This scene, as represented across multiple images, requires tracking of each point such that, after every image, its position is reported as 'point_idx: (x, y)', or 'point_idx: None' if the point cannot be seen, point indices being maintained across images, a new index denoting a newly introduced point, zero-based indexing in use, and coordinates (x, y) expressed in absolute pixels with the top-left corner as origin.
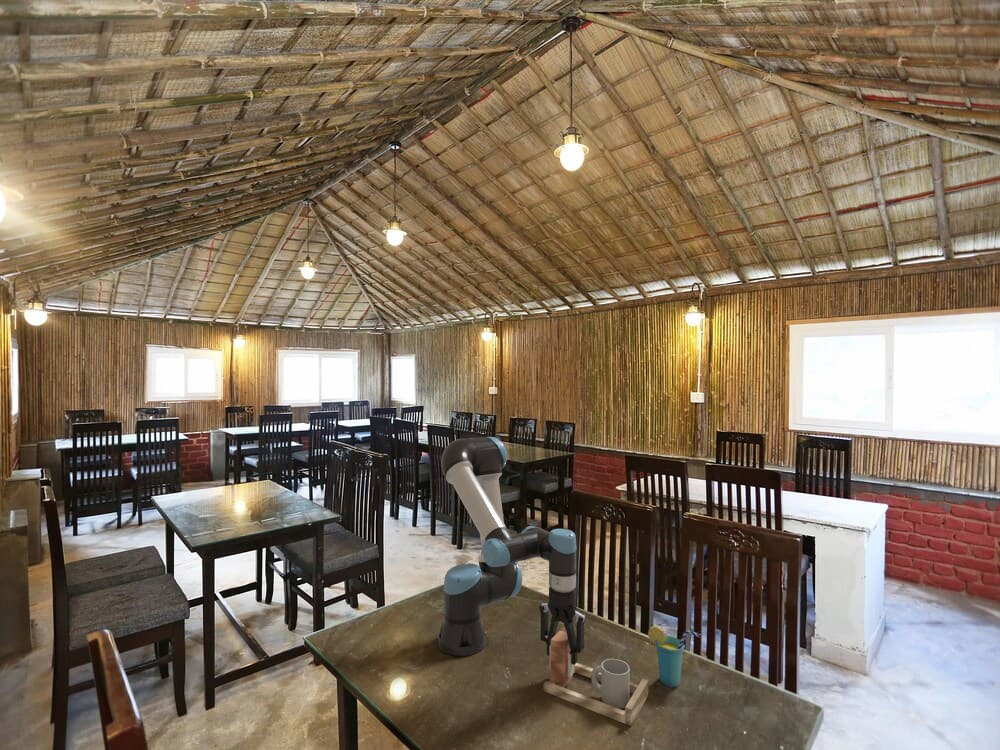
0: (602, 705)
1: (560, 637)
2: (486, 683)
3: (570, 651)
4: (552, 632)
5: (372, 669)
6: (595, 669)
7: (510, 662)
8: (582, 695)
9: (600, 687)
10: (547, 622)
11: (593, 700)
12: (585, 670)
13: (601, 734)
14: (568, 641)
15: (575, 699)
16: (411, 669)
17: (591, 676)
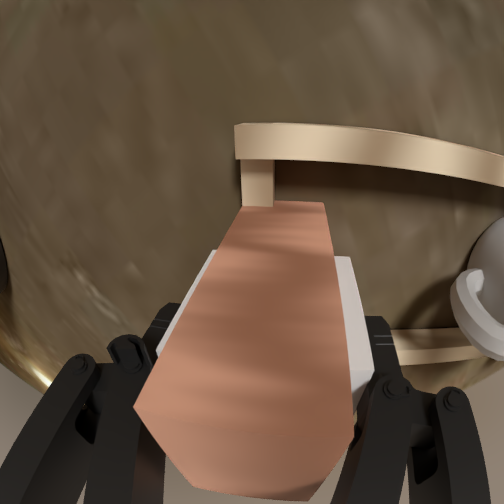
0: (471, 356)
1: (236, 478)
2: (106, 354)
3: (354, 428)
4: (160, 499)
5: (11, 360)
6: (490, 355)
7: (63, 244)
8: (410, 352)
9: (477, 294)
10: (46, 482)
11: (447, 353)
12: (387, 165)
13: (451, 386)
14: (334, 492)
15: None
16: (20, 349)
17: (457, 316)
